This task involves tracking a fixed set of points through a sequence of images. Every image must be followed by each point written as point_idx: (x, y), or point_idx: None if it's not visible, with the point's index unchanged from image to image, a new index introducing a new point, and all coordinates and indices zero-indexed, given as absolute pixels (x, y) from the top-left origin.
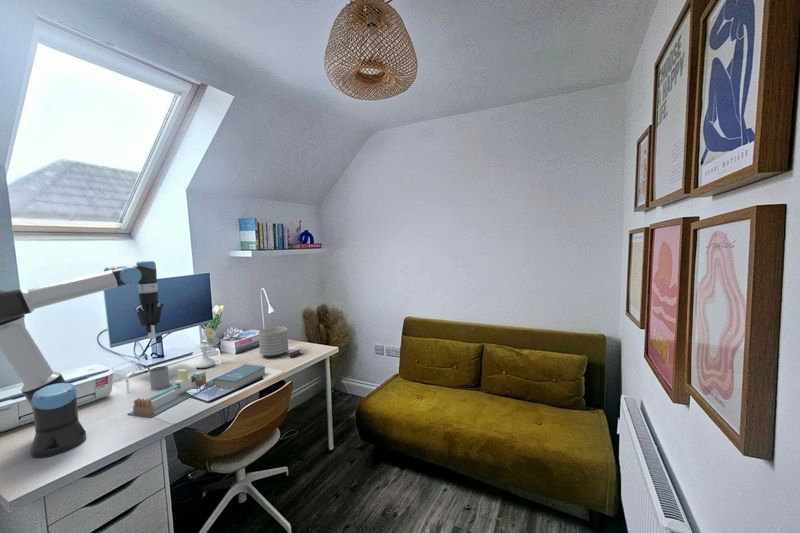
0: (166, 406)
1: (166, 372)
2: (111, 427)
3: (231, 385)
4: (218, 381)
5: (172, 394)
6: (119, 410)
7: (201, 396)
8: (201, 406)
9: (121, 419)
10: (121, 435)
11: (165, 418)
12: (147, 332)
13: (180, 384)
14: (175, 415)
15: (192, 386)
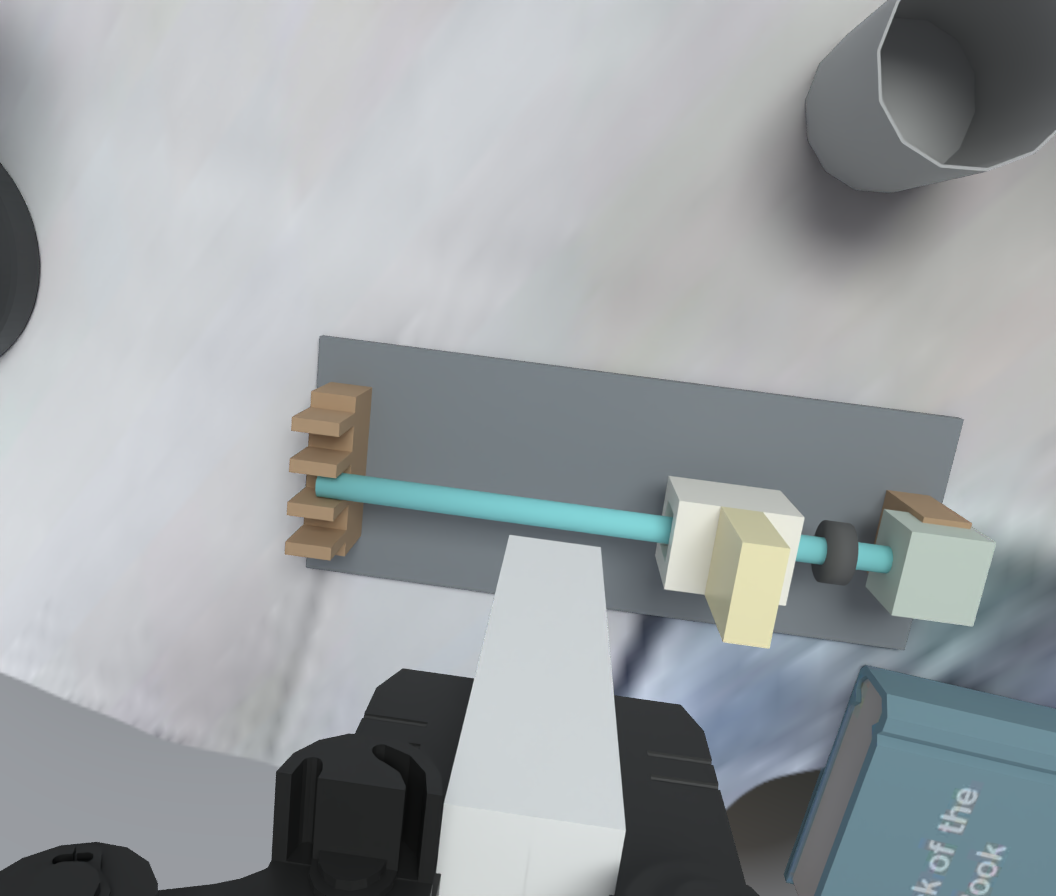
0: (459, 556)
1: (956, 177)
2: (156, 384)
3: (813, 861)
4: (866, 745)
5: (669, 433)
6: (379, 182)
7: (659, 690)
8: None
9: (259, 350)
10: (94, 552)
11: (318, 668)
12: (397, 696)
13: (663, 567)
14: (363, 705)
15: (842, 492)
